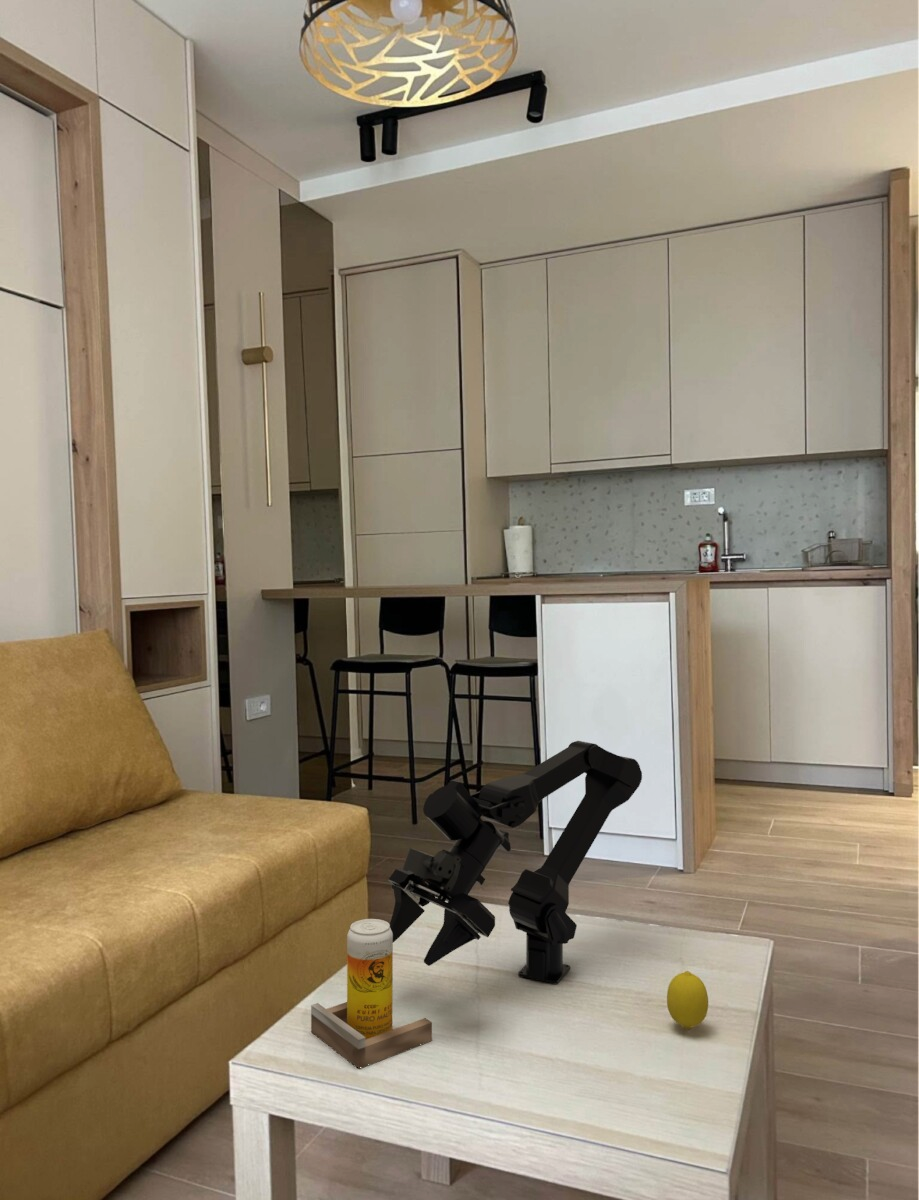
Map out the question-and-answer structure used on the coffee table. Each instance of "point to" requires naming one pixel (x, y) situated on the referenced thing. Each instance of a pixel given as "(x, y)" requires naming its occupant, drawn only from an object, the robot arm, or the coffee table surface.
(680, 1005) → the lemon
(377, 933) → the beer can
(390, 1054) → the frame
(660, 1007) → the coffee table surface
